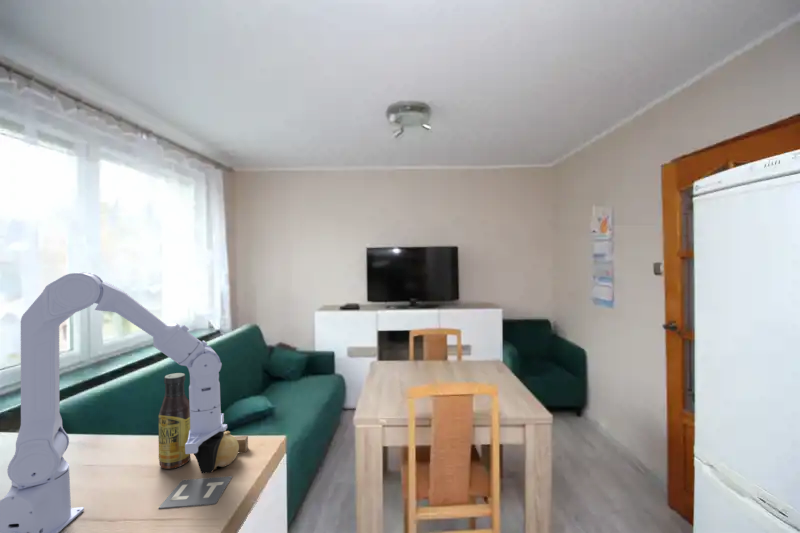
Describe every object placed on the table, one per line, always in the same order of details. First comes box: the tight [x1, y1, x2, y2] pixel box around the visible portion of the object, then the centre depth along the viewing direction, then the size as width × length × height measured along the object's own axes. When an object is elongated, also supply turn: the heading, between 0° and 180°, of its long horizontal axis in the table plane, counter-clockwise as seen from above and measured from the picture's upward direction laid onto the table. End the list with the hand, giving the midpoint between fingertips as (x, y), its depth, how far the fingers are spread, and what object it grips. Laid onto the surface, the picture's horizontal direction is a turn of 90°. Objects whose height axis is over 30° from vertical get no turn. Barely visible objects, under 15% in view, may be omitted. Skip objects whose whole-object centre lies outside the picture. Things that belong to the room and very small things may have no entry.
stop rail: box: [234, 435, 249, 453], centre depth 91 cm, size 2×9×3 cm, turn 95°
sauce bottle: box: [158, 372, 191, 470], centre depth 86 cm, size 7×6×20 cm
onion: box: [214, 429, 239, 470], centre depth 86 cm, size 8×8×7 cm
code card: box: [158, 475, 233, 510], centre depth 75 cm, size 9×10×1 cm
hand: (207, 471), depth 80 cm, fingers closed
